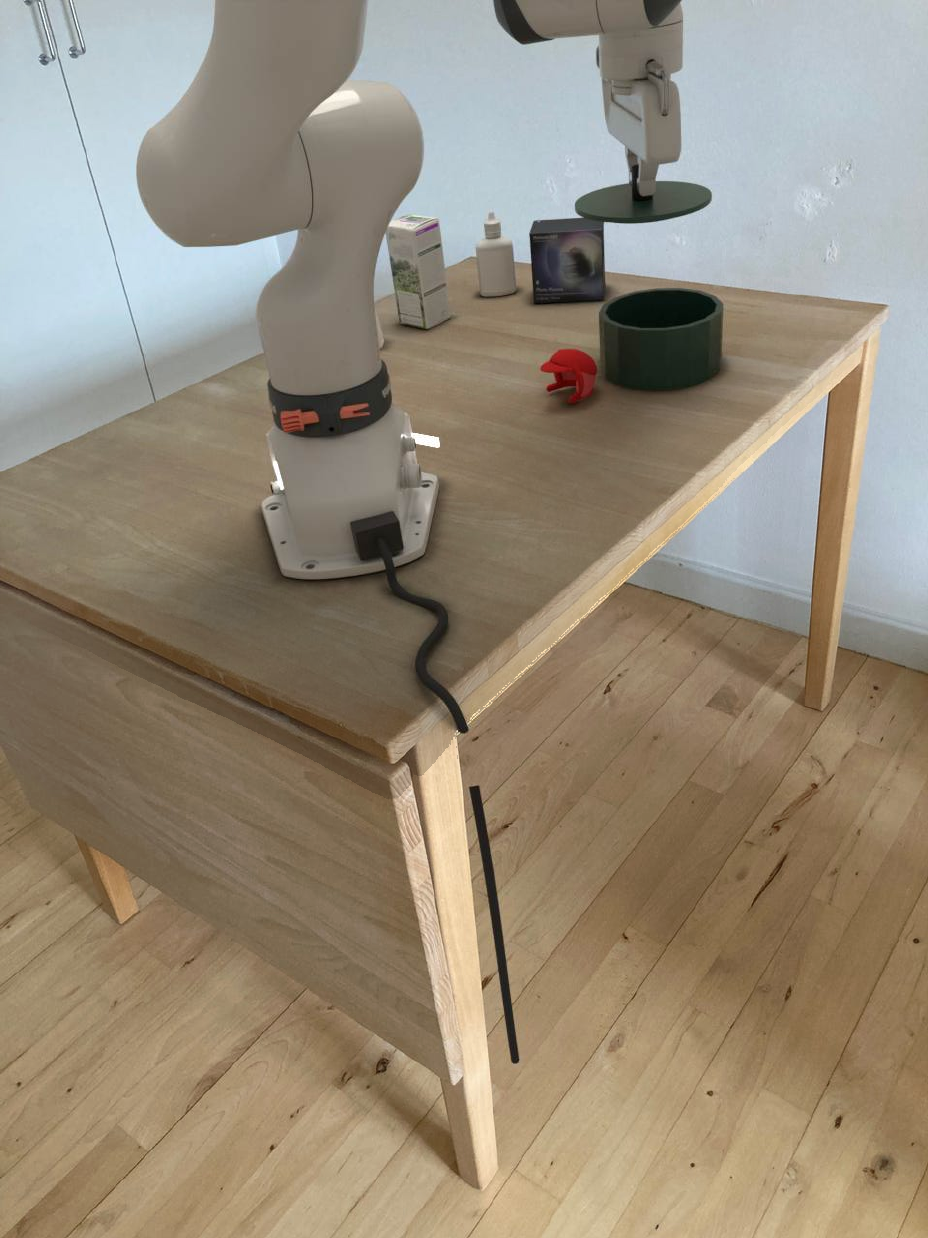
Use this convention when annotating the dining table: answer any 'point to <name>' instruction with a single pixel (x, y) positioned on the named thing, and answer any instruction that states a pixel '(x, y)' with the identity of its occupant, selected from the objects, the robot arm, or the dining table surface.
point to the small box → (567, 260)
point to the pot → (661, 338)
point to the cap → (572, 372)
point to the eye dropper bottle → (495, 261)
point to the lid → (643, 202)
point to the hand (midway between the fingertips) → (641, 190)
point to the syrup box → (418, 270)
